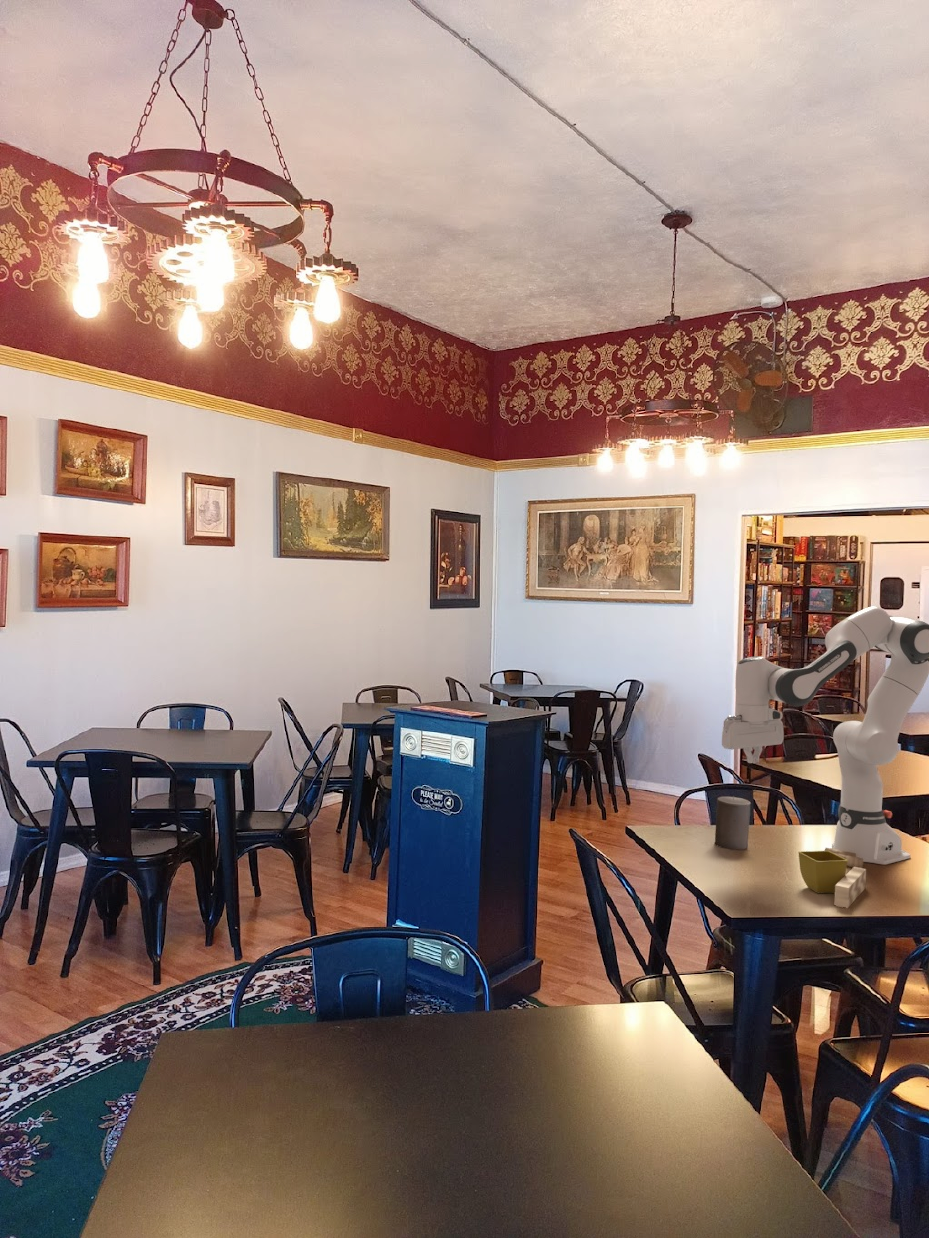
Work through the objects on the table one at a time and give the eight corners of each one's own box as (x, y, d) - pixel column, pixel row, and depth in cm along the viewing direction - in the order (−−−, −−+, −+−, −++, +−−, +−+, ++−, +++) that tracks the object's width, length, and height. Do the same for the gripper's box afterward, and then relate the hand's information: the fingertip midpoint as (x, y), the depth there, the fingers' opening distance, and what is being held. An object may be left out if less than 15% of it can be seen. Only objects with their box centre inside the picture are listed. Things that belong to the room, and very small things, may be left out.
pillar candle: (709, 844, 266) (711, 795, 265) (722, 838, 273) (725, 790, 272) (740, 852, 259) (743, 801, 259) (753, 845, 267) (756, 796, 266)
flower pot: (815, 896, 222) (817, 861, 221) (795, 885, 230) (797, 850, 230) (846, 895, 223) (848, 860, 223) (826, 884, 232) (828, 850, 232)
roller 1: (826, 854, 259) (824, 859, 256) (826, 845, 258) (823, 851, 256) (856, 859, 254) (853, 865, 252) (855, 851, 253) (853, 856, 251)
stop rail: (852, 885, 232) (853, 866, 231) (865, 888, 230) (866, 869, 230) (834, 905, 215) (835, 885, 215) (847, 908, 214) (848, 887, 213)
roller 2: (832, 862, 253) (830, 863, 251) (833, 852, 253) (831, 853, 251) (862, 868, 248) (860, 869, 246) (863, 858, 249) (861, 858, 246)
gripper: (732, 717, 244) (732, 767, 244) (787, 712, 253) (787, 760, 253) (716, 715, 249) (717, 764, 250) (770, 710, 258) (771, 757, 258)
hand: (753, 762), depth 251 cm, fingers closed
